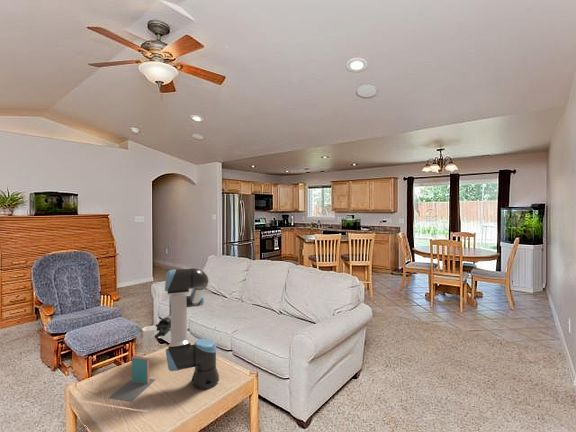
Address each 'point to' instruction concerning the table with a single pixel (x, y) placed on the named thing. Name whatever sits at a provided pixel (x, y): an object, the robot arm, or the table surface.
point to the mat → (130, 390)
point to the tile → (140, 369)
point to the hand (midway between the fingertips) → (144, 338)
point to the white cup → (147, 333)
